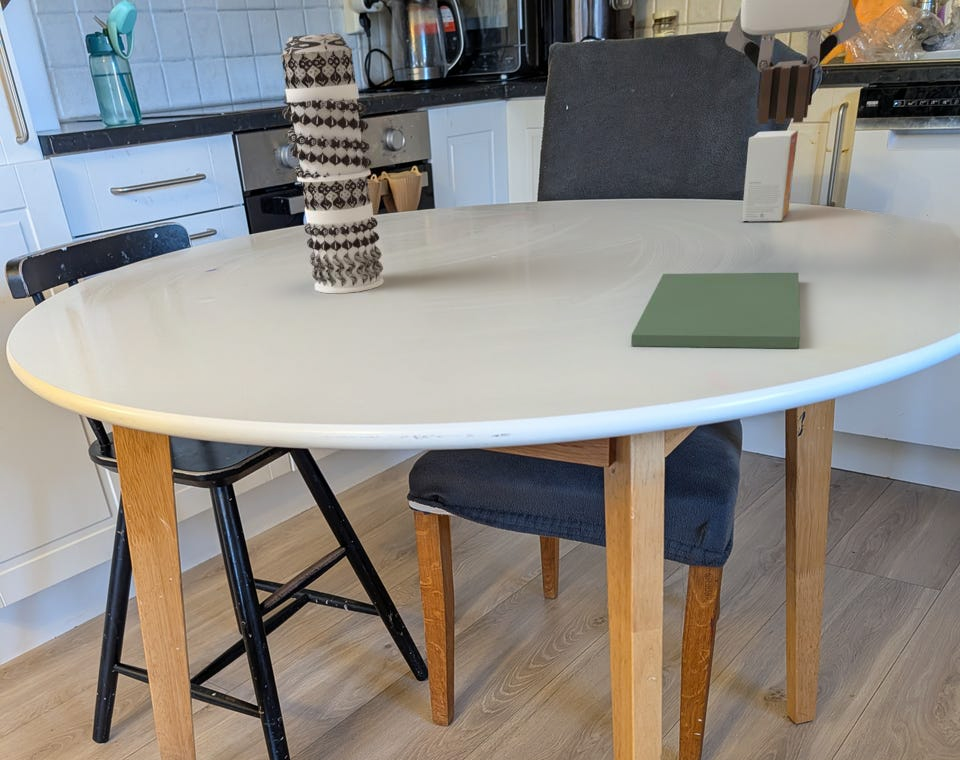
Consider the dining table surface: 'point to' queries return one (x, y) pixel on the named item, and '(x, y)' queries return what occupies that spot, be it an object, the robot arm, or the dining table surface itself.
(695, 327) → the mat
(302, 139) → the decorative candle
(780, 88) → the fork
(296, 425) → the dining table surface
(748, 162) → the small box
